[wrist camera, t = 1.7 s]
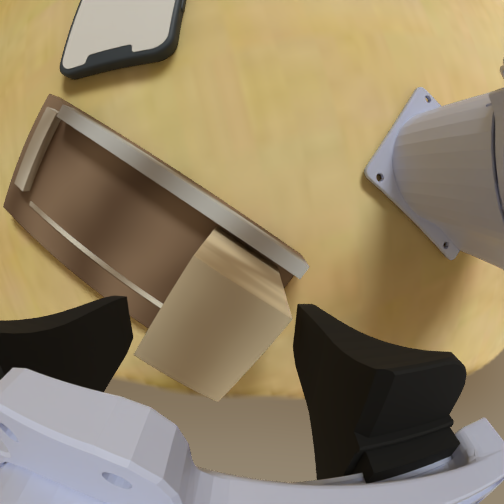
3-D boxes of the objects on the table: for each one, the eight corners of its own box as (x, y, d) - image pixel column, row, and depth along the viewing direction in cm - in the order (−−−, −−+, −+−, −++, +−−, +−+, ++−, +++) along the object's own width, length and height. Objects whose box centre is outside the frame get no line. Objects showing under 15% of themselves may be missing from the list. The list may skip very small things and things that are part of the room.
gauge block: (277, 267, 15) (292, 318, 10) (227, 333, 16) (217, 402, 10) (216, 226, 15) (193, 255, 9) (170, 297, 16) (133, 354, 10)
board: (301, 254, 16) (309, 266, 14) (219, 359, 18) (215, 381, 16) (59, 97, 14) (39, 90, 11) (13, 204, 15) (-8, 208, 13)
